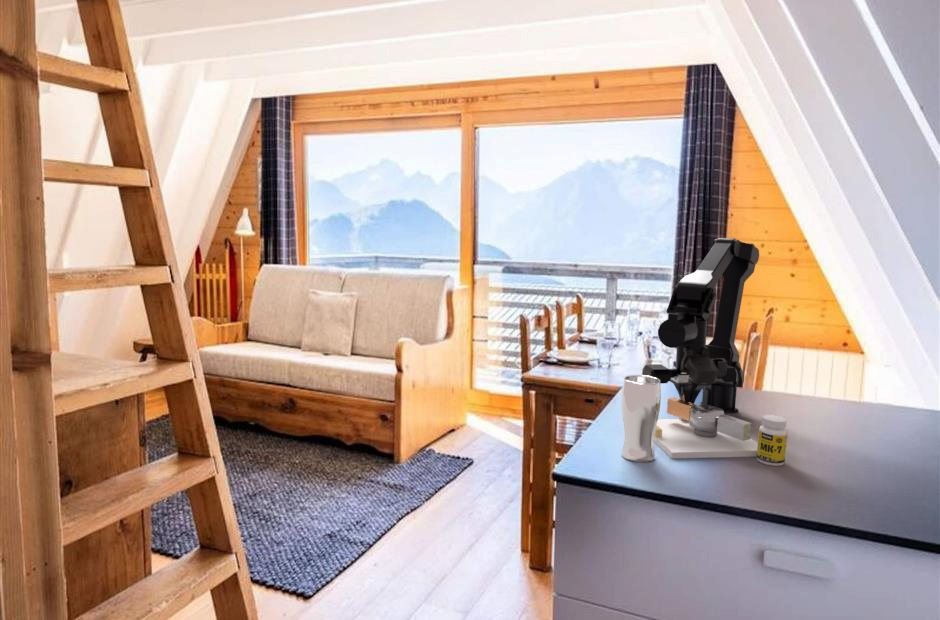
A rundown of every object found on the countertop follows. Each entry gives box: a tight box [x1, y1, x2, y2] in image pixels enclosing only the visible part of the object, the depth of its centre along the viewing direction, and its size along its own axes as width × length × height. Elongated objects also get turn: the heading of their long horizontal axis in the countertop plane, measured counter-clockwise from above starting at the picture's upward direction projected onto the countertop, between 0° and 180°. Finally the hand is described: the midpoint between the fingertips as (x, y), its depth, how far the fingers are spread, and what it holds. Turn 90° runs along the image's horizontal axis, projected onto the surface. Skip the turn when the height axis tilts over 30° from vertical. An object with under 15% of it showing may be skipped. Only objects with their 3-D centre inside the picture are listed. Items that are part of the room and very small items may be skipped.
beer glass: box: [621, 374, 662, 463], centre depth 120 cm, size 7×7×15 cm
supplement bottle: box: [756, 414, 788, 467], centre depth 118 cm, size 5×5×8 cm
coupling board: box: [653, 417, 758, 460], centre depth 130 cm, size 19×19×3 cm
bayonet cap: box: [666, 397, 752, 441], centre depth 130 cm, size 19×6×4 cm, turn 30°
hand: (687, 412), depth 136 cm, fingers closed
